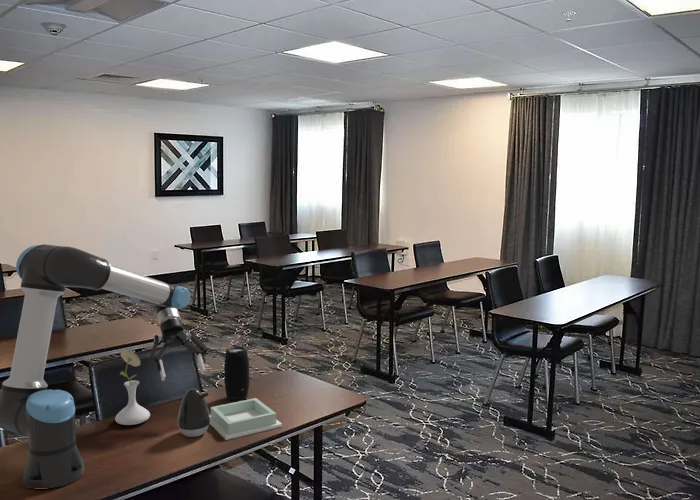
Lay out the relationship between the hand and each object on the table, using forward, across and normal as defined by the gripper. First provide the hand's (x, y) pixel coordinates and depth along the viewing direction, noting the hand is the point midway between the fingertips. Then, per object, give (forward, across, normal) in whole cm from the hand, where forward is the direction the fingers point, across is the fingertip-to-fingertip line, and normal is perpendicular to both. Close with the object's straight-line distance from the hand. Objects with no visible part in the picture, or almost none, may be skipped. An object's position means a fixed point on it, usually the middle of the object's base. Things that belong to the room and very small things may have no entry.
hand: (184, 375), depth 198 cm
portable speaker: (+3, -24, -21) cm, 32 cm away
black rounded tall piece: (+19, 0, -5) cm, 20 cm away
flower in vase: (+4, +15, -20) cm, 26 cm away
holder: (+19, -17, -4) cm, 26 cm away
